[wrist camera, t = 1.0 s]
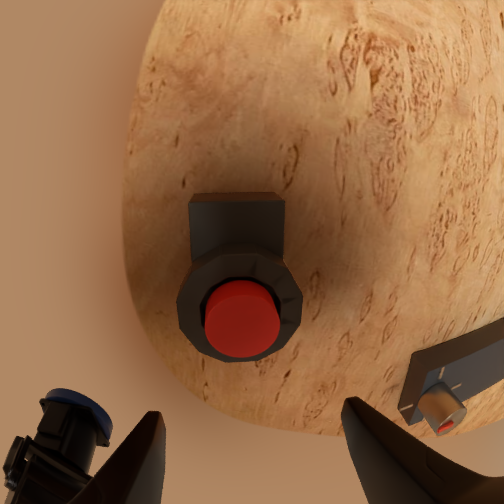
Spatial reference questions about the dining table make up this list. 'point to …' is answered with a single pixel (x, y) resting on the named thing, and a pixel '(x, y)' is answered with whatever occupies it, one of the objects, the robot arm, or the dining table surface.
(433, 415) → the dial
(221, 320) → the power button
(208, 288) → the power button base
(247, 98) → the dining table surface
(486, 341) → the panel
